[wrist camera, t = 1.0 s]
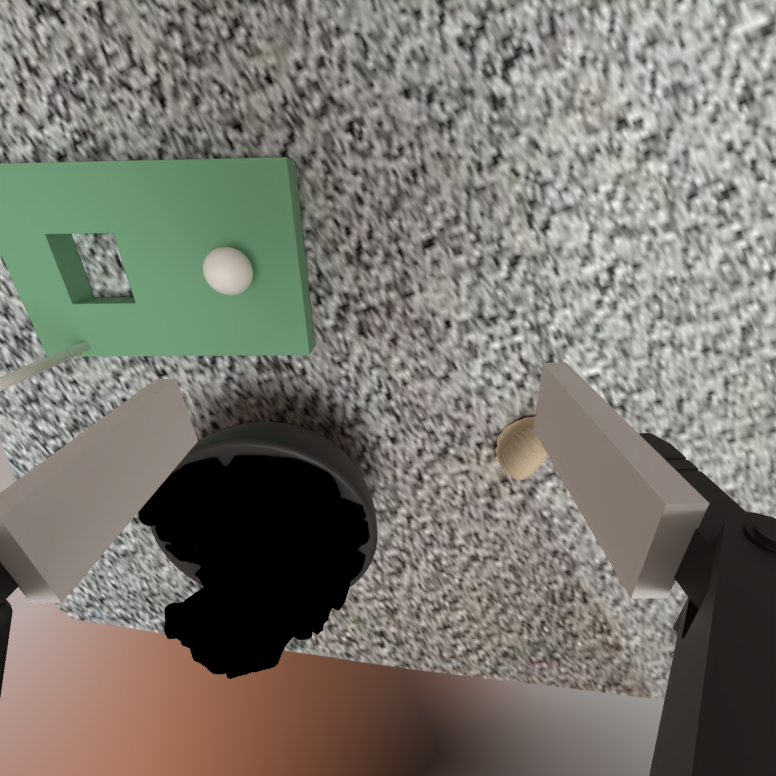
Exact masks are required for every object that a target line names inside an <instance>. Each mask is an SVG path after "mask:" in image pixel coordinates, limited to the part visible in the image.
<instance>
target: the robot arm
mask: <svg viewBox="0 0 776 776" xmlns="http://www.w3.org/2000/svg"><path fill="white" fill-rule="evenodd" d="M534 432H535V434H536V435H537V437H538V439H539V441H540V442H541V444H542V446H543V447H544V449H545V451H546V453H547V454H548V456H549V458H550V460H551V461H552V463H553V465H554V467H555V468H556V470H557V472H558V473H559V475H560V477H561V479H562V480H563V482H564V484H565V486H566V487H567V489H568V491H569V492H570V494H571V496H572V498H573V499H574V501H575V503H576V505H577V506H578V508H579V510H580V511H581V513H582V515H583V517H584V518H585V520H586V522H587V524H588V525H589V527H590V529H591V530H592V532H593V534H594V536H595V537H596V539H597V541H598V543H599V544H600V546H601V548H602V549H603V551H604V553H605V555H606V556H607V558H608V560H609V562H610V563H611V565H612V567H613V569H614V570H615V572H616V574H617V575H618V577H619V579H620V581H621V582H622V584H623V586H624V588H625V589H626V591H627V593H628V594H629V596H630V598H668V595H669V593H670V591H671V589H672V586H673V584H674V582H675V580H676V581H677V582H678V583H679V585H680V586H681V588H682V589H683V590H684V592H685V593H686V594H687V596H688V598H687V600H686V602H685V605H684V607H683V609H682V611H681V613H680V615H679V617H678V619H677V621H676V623H675V625H674V627H673V629H674V630H676V631H678V636H677V641H676V646H675V651H674V656H673V661H672V666H671V671H670V676H669V681H668V686H667V691H666V696H665V701H664V706H663V711H662V716H661V721H660V726H659V731H658V736H657V741H656V746H655V750H654V755H653V760H652V765H651V770H650V775H649V776H776V519H775V518H773V517H769V516H765V515H761V514H758V513H751V512H746V511H744V510H743V509H742V508H741V507H740V506H739V505H738V504H737V503H736V502H734V501H733V500H732V499H731V498H730V497H729V496H728V495H727V494H726V493H724V492H723V491H722V490H721V489H720V488H719V487H718V486H717V485H716V484H715V483H713V482H712V481H711V480H710V479H709V478H708V477H707V476H706V475H705V474H703V473H702V472H701V471H700V472H699V471H698V468H697V467H696V466H695V465H693V464H692V463H691V462H690V461H689V460H686V457H685V456H683V455H682V454H681V453H680V452H679V451H678V450H677V449H676V448H675V447H673V446H672V445H671V444H670V443H668V442H666V441H664V440H662V439H660V438H658V437H657V436H655V435H653V434H651V433H642V434H638V433H637V432H636V431H635V430H634V429H633V428H632V427H631V426H630V425H629V424H628V423H627V422H626V421H625V420H624V419H623V418H622V417H621V416H620V415H619V414H618V413H617V412H616V411H615V410H614V409H613V408H612V407H611V406H610V405H609V404H608V403H607V402H606V401H605V400H604V399H603V398H602V397H600V396H599V395H598V394H597V393H596V392H595V391H594V390H593V389H592V388H591V387H590V386H589V385H588V384H587V383H586V382H585V381H584V380H583V379H582V378H581V377H580V376H579V375H578V374H577V373H576V372H575V371H574V370H573V369H572V368H571V367H570V366H569V365H568V364H567V363H566V362H562V363H543V366H542V374H541V381H540V388H539V395H538V402H537V409H536V416H535V423H534ZM197 442H198V440H197V437H196V434H195V431H194V428H193V425H192V423H191V420H190V417H189V414H188V411H187V409H186V406H185V403H184V400H183V397H182V394H181V392H180V389H179V386H178V383H177V380H176V379H157V380H154V381H153V382H152V383H150V384H149V385H148V386H146V387H145V388H144V389H142V390H141V391H139V392H138V393H137V394H135V395H134V396H133V397H131V398H130V399H128V400H127V401H126V402H124V403H123V404H122V405H120V406H119V407H117V408H116V409H115V410H113V411H112V412H111V413H109V414H108V415H107V416H105V417H104V418H102V419H101V420H100V421H98V422H97V423H96V424H94V425H93V426H91V427H90V428H89V429H87V430H86V431H85V432H83V433H82V434H81V435H79V436H78V437H76V438H75V439H74V440H72V441H71V442H70V443H68V444H67V445H65V446H64V447H63V448H61V449H60V450H59V451H57V452H56V453H54V454H53V455H52V456H50V457H49V458H48V459H46V460H45V461H44V462H42V463H41V464H39V465H38V466H37V467H35V468H34V469H33V470H31V471H30V472H28V473H27V474H26V475H24V476H23V477H22V478H20V479H19V480H18V481H16V482H15V483H14V484H12V485H11V486H9V487H8V488H7V489H5V490H4V491H3V492H1V493H0V695H1V689H2V681H3V674H4V668H5V661H6V654H7V646H8V639H9V632H10V625H11V618H12V608H11V605H10V604H9V602H8V601H7V600H6V599H7V598H8V596H9V595H10V594H11V593H12V592H13V591H14V590H15V589H16V588H17V587H19V588H20V590H21V591H22V592H23V594H24V595H25V596H26V597H27V599H28V600H29V601H30V602H31V603H62V602H63V601H64V599H65V598H66V597H67V596H68V595H69V593H70V592H71V591H72V590H73V589H74V588H75V586H76V585H77V584H78V583H79V582H80V580H81V579H82V578H83V577H84V576H85V575H86V573H87V572H88V571H89V570H90V569H91V567H92V566H93V565H94V564H95V563H96V561H97V560H98V559H99V558H100V557H101V556H102V554H103V553H104V552H105V551H106V550H107V548H108V547H109V546H110V545H111V544H112V543H113V541H114V540H115V539H116V538H117V537H118V535H119V534H120V533H121V532H122V531H123V529H124V528H125V527H126V526H127V525H128V524H129V522H130V521H131V520H132V519H133V518H134V516H135V515H136V514H137V513H138V512H139V510H140V509H141V508H142V507H143V506H144V505H145V503H146V502H147V501H148V500H149V499H150V497H151V496H152V495H153V494H154V493H155V492H156V490H157V489H158V488H159V487H160V486H161V484H162V483H163V482H164V481H165V480H166V478H167V477H168V476H169V475H170V474H171V473H172V471H173V470H174V469H175V468H176V467H177V465H178V464H179V463H180V462H181V461H182V459H183V458H184V457H185V456H186V455H187V454H188V452H189V451H190V450H191V449H192V448H193V446H194V445H195V444H196V443H197Z"/></svg>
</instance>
